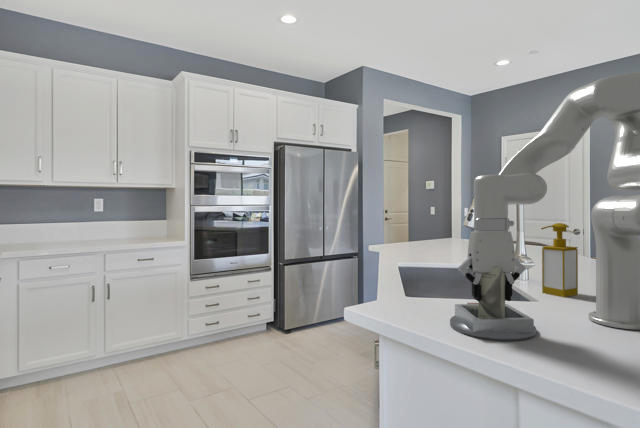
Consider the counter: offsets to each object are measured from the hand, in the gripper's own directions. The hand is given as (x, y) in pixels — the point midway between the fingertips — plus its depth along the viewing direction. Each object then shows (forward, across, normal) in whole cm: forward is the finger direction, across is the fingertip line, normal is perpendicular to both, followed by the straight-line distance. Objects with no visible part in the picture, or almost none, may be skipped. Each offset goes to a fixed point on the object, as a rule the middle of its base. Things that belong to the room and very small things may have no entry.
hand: (491, 299), depth 92 cm
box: (+5, 0, 0) cm, 5 cm away
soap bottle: (+7, -34, -34) cm, 49 cm away
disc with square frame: (+7, 0, -2) cm, 7 cm away
